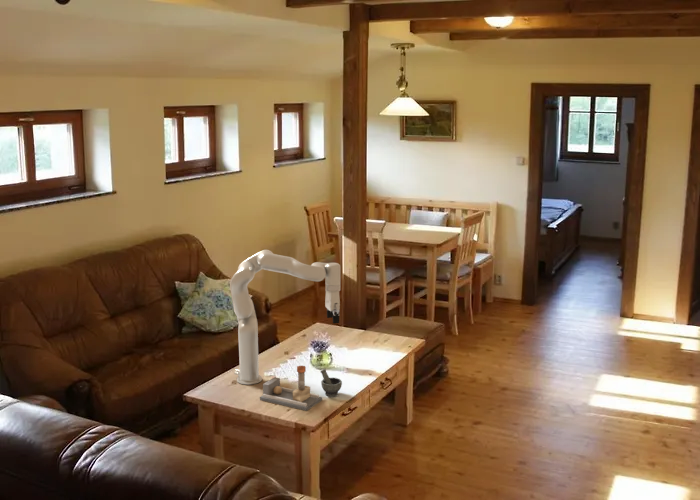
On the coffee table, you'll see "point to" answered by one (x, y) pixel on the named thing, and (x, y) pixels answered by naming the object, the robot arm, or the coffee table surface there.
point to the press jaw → (301, 386)
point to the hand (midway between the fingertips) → (333, 320)
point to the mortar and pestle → (330, 384)
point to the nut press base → (286, 396)
